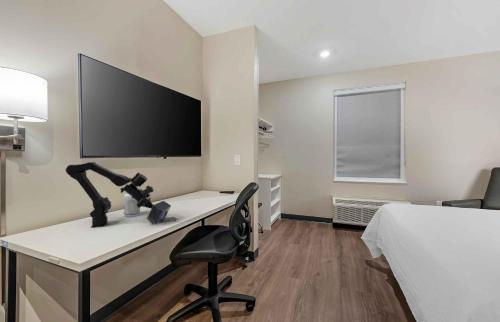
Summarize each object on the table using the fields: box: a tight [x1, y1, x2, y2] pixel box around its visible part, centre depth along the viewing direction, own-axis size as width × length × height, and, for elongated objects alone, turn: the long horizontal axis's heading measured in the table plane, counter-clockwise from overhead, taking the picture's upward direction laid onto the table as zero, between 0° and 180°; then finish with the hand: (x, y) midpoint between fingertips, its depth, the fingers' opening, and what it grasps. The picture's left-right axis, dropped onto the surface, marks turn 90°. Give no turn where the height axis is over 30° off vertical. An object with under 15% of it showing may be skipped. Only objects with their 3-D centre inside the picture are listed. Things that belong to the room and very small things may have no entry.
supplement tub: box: [123, 193, 141, 218], centre depth 140 cm, size 10×10×15 cm
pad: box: [161, 216, 177, 223], centre depth 132 cm, size 8×8×1 cm
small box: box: [146, 200, 172, 225], centre depth 127 cm, size 11×6×10 cm, turn 169°
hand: (154, 208), depth 127 cm, fingers closed
